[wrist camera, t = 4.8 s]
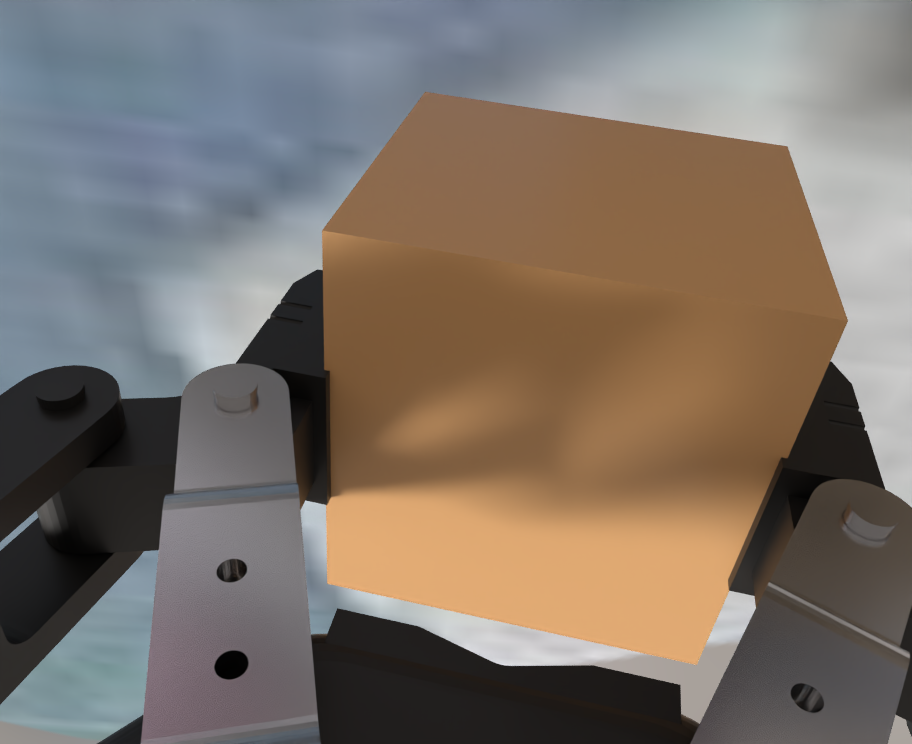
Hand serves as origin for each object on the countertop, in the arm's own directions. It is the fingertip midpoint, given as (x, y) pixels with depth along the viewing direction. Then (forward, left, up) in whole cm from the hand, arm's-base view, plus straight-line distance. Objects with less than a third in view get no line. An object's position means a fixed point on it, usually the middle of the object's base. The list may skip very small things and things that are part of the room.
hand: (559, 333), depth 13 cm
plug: (0, 0, -4) cm, 4 cm away
